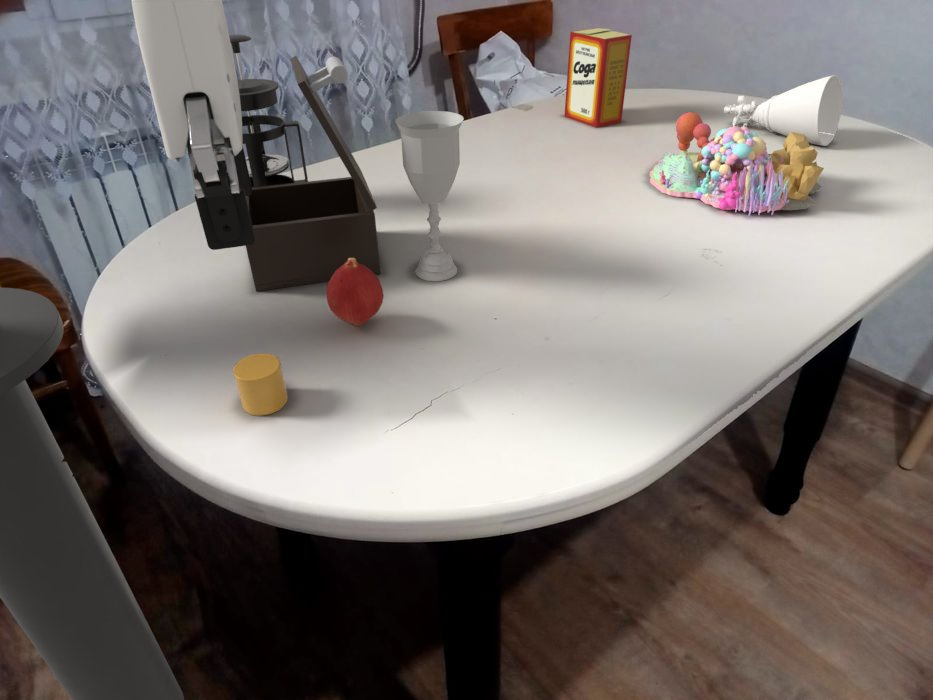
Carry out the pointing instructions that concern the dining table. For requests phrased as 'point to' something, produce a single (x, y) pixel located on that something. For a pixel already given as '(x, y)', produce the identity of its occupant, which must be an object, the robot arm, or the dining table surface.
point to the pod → (260, 384)
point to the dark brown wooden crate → (309, 232)
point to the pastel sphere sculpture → (738, 169)
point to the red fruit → (354, 293)
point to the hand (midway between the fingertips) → (233, 219)
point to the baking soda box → (597, 76)
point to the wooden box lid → (309, 91)
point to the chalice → (431, 176)
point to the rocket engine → (797, 111)
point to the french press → (259, 163)
